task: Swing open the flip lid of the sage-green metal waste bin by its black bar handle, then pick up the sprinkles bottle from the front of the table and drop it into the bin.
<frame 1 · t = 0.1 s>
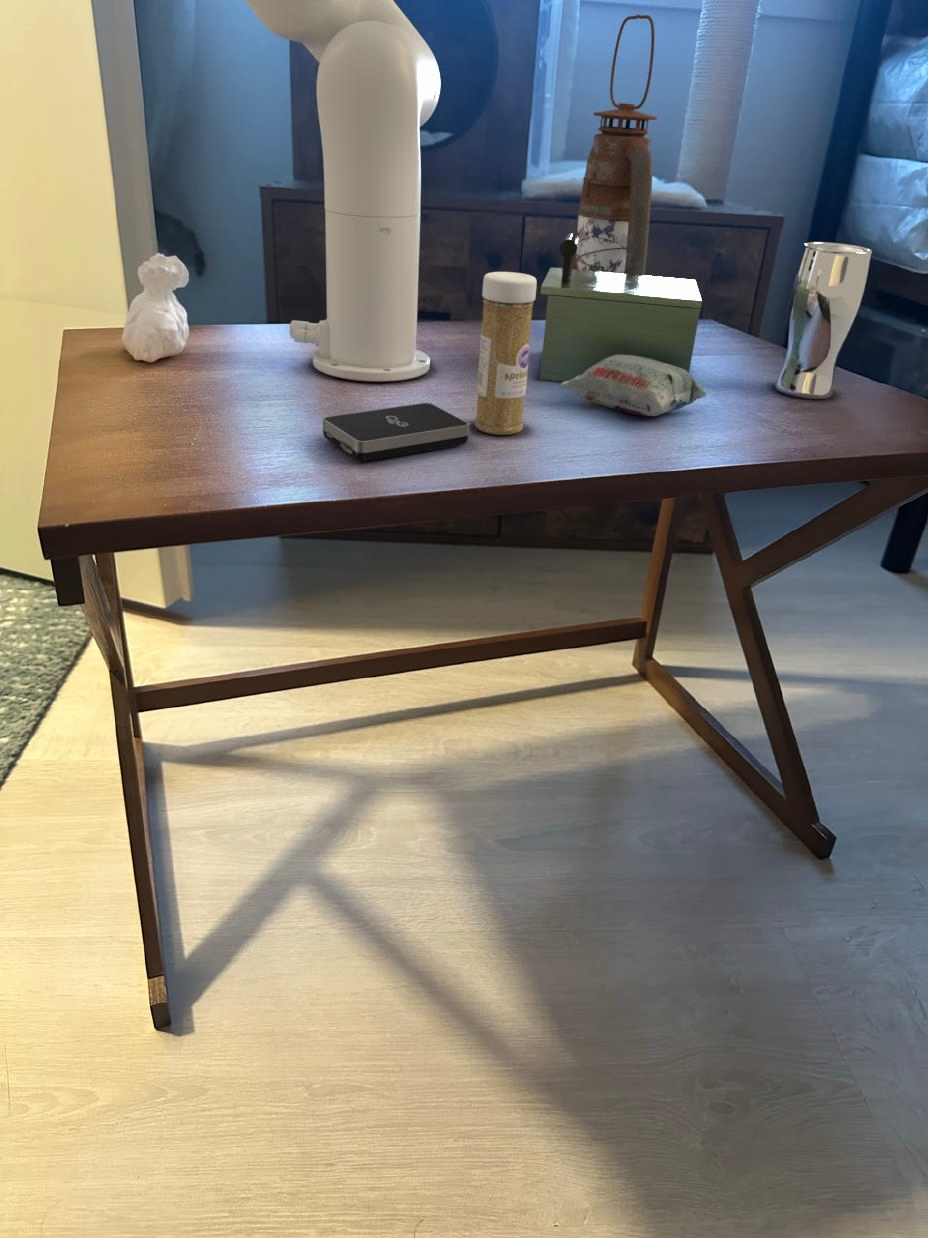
lantern: (596, 336, 120), on the table
external hard drive: (396, 445, 80), on the table
beer glass: (802, 393, 102), on the table
white tied sack: (160, 356, 100), on the table
waste bin: (612, 372, 105), on the table
bin lid: (623, 266, 99), point 11 cm above the table, hinge at 0.0°
packaged food: (629, 412, 92), on the table
sprinkles bottle: (498, 430, 85), on the table
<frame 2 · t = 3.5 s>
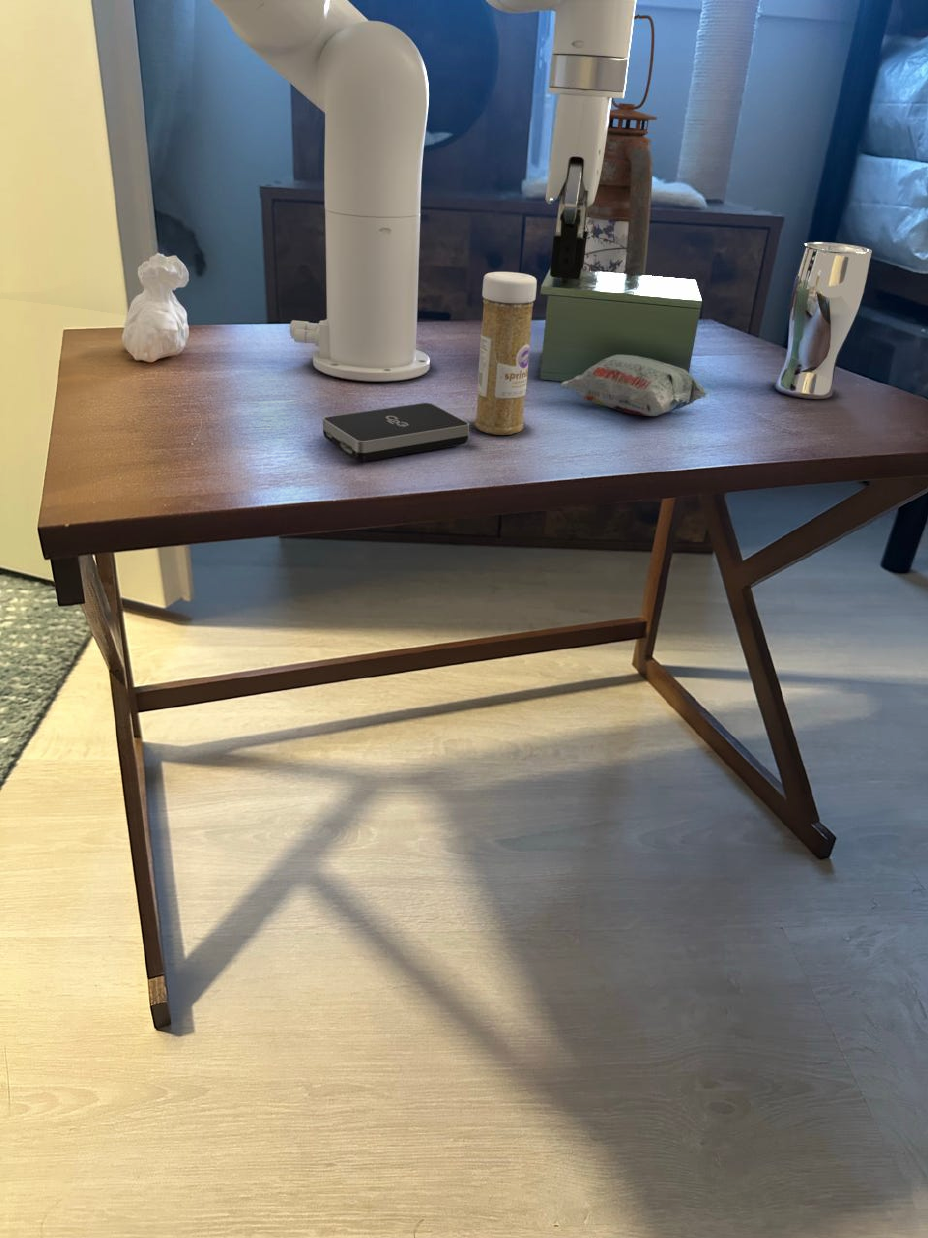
hand: (566, 271, 100), 10 cm above the table, tool pointing down, fingers closed on bin lid, 5 cm apart
bin lid: (623, 266, 99), point 11 cm above the table, hinge at 0.0°, touching gripper
everything else where it was.
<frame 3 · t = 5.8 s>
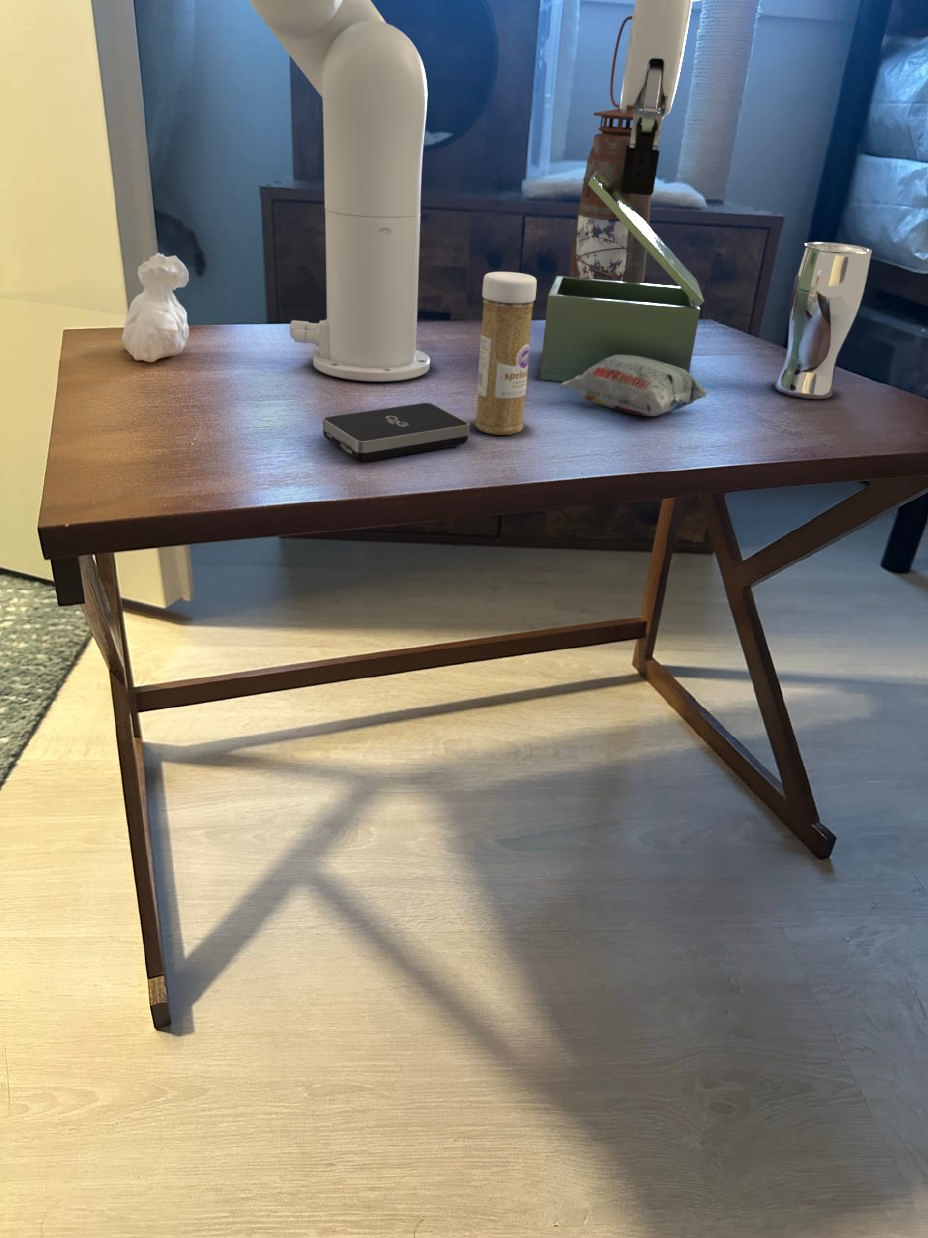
hand: (636, 189, 95), 19 cm above the table, tool pointing down, fingers closed on bin lid, 5 cm apart
bin lid: (661, 220, 96), point 16 cm above the table, hinge at 39.9°, touching gripper
everything else where it was.
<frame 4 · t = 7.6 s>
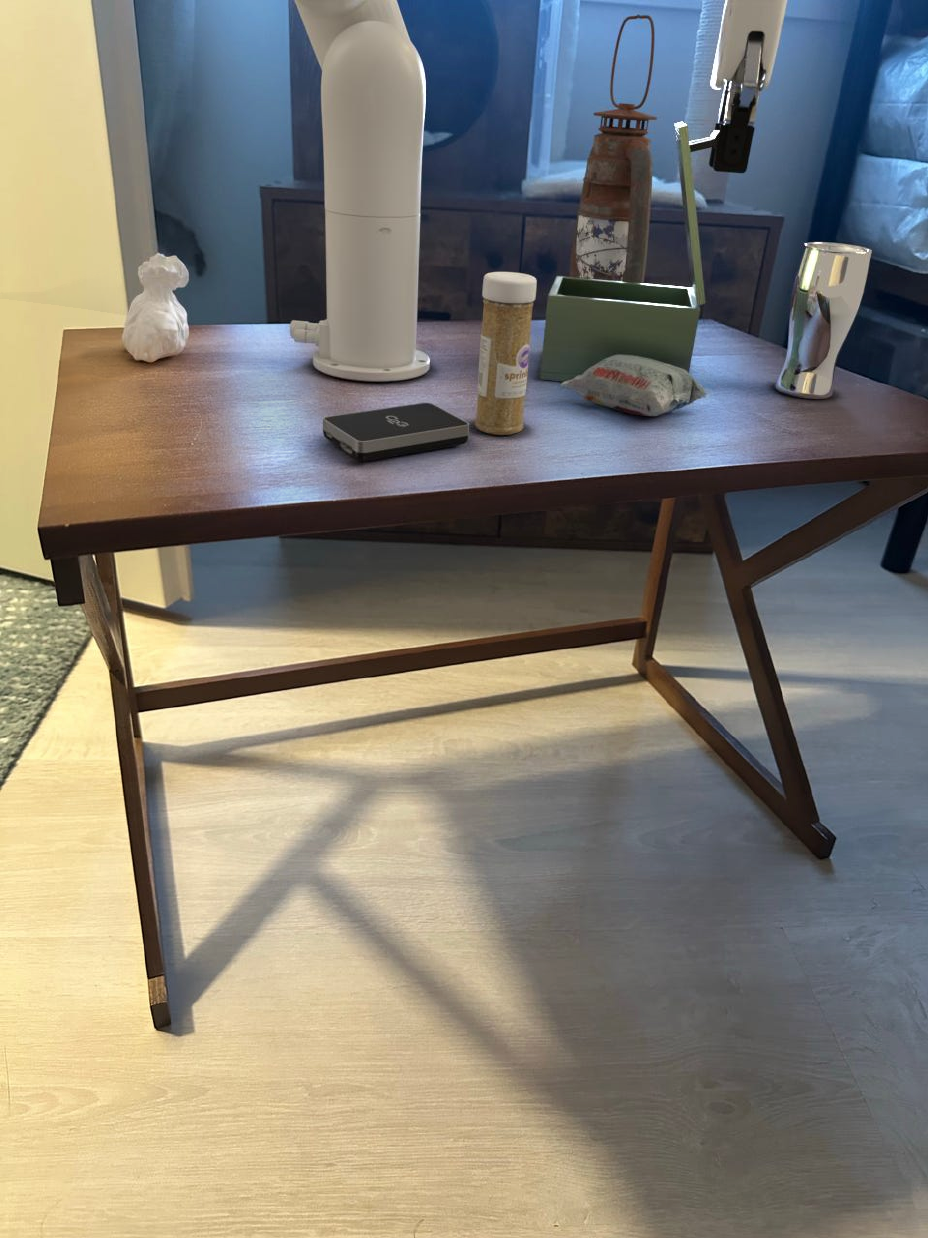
hand: (726, 167, 93), 21 cm above the table, tool pointing down, fingers closed on bin lid, 5 cm apart
bin lid: (710, 207, 95), point 18 cm above the table, hinge at 73.9°, touching gripper
everything else where it was.
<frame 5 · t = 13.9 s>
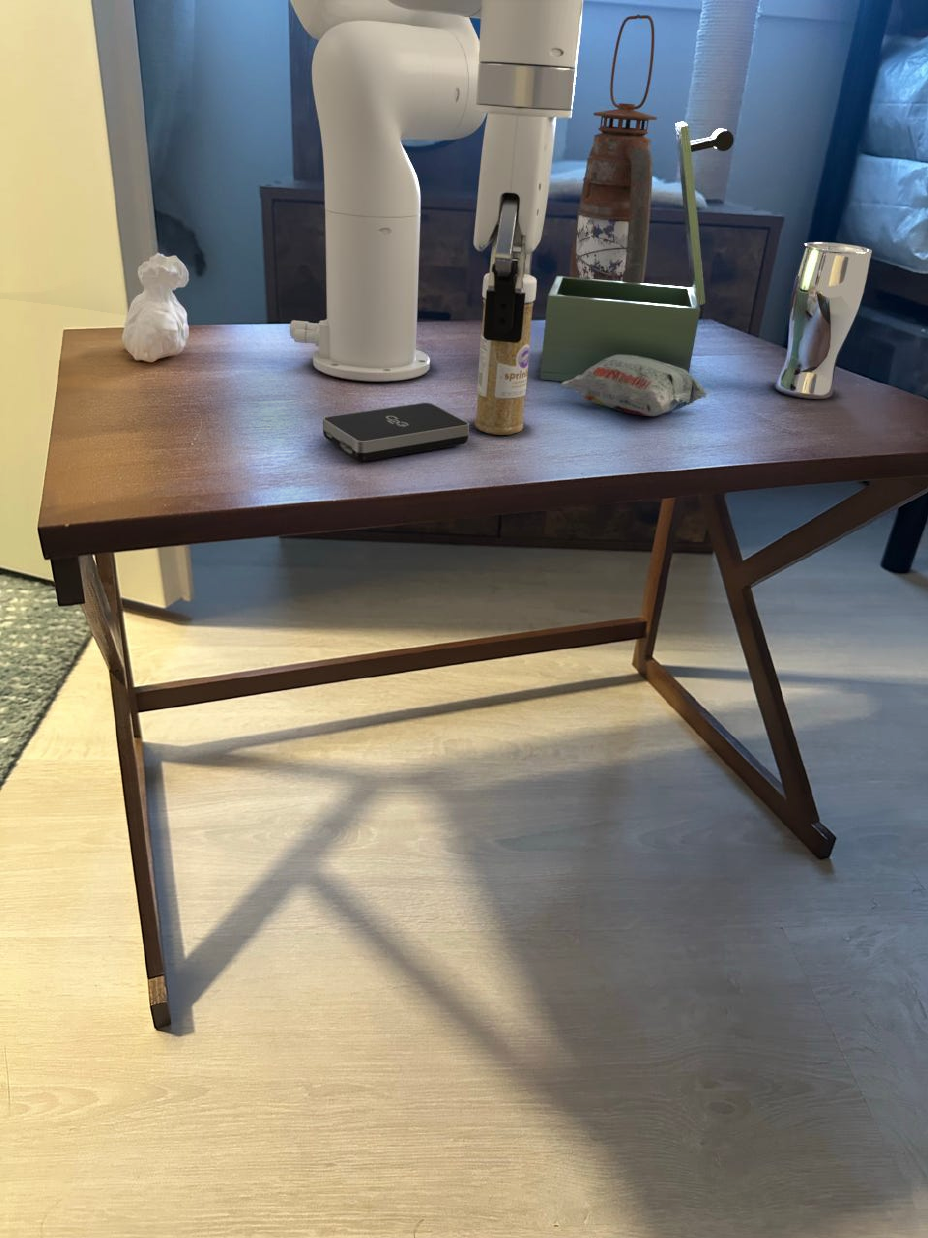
hand: (506, 331, 81), 9 cm above the table, tool pointing down, fingers closed on sprinkles bottle, 4 cm apart
bin lid: (711, 207, 95), point 18 cm above the table, hinge at 74.2°
sprinkles bottle: (498, 430, 85), on the table, touching gripper
everything else where it was.
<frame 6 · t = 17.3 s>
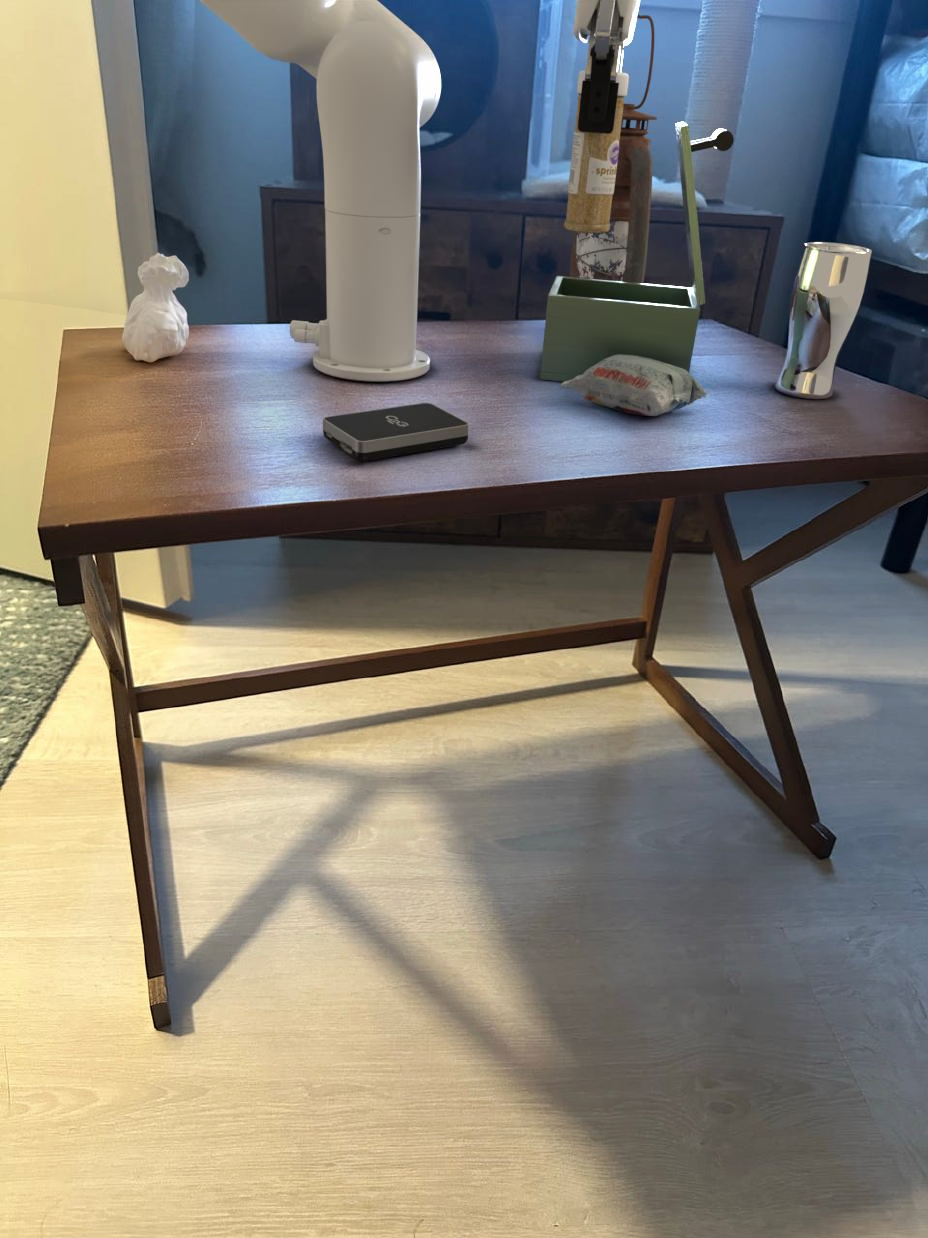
hand: (597, 128, 86), 24 cm above the table, tool pointing down, fingers closed on sprinkles bottle, 4 cm apart
sprinkles bottle: (586, 232, 90), point 15 cm above the table, touching gripper
everything else where it was.
when the fingers open (15 cm above the table, at t = 20.8 s): sprinkles bottle drops 5 cm, resting on waste bin.
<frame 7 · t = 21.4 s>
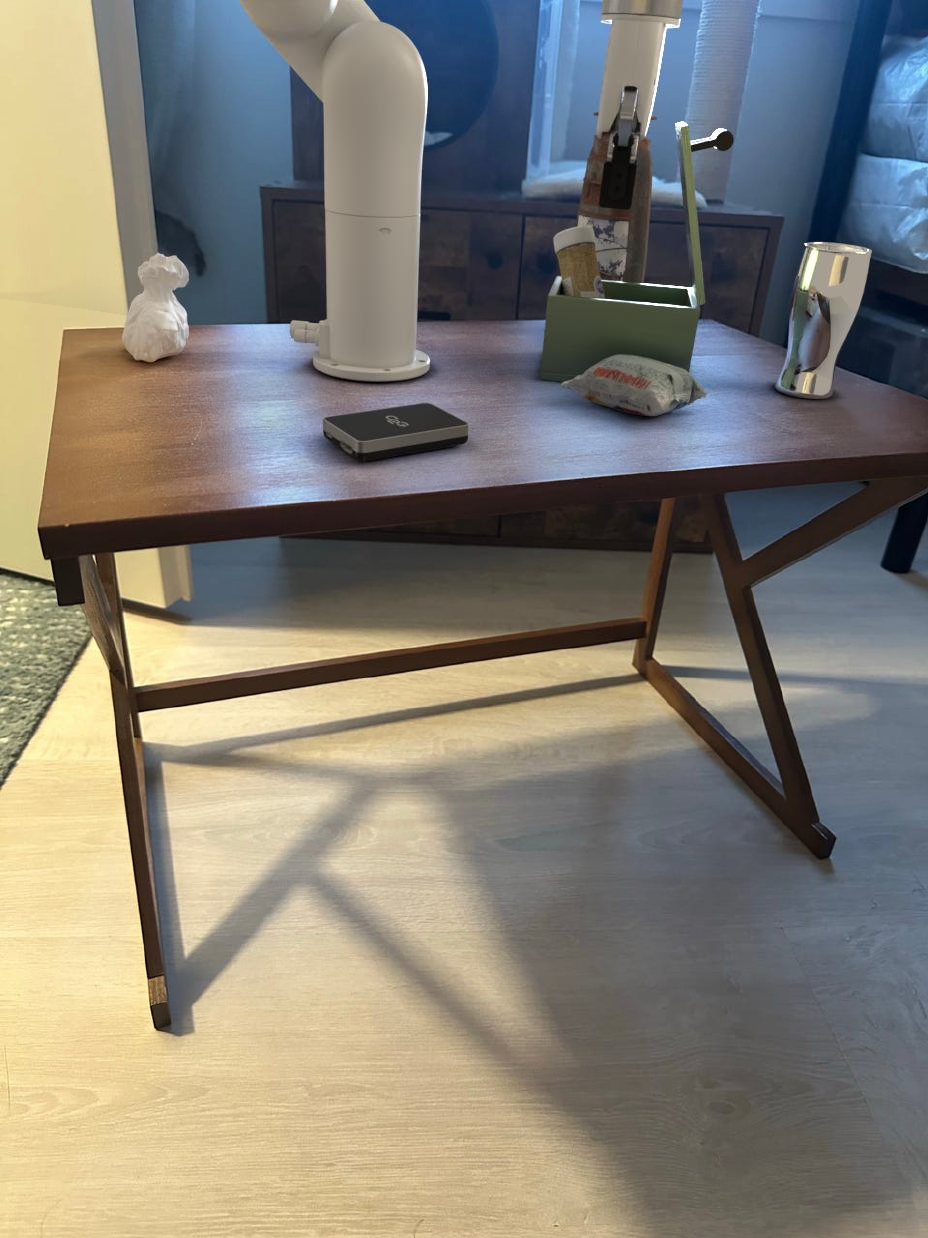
hand: (615, 203, 96), 17 cm above the table, tool pointing down, fingers open, 9 cm apart
sprinkles bottle: (595, 355, 104), point 2 cm above the table, touching waste bin
everything else where it was.
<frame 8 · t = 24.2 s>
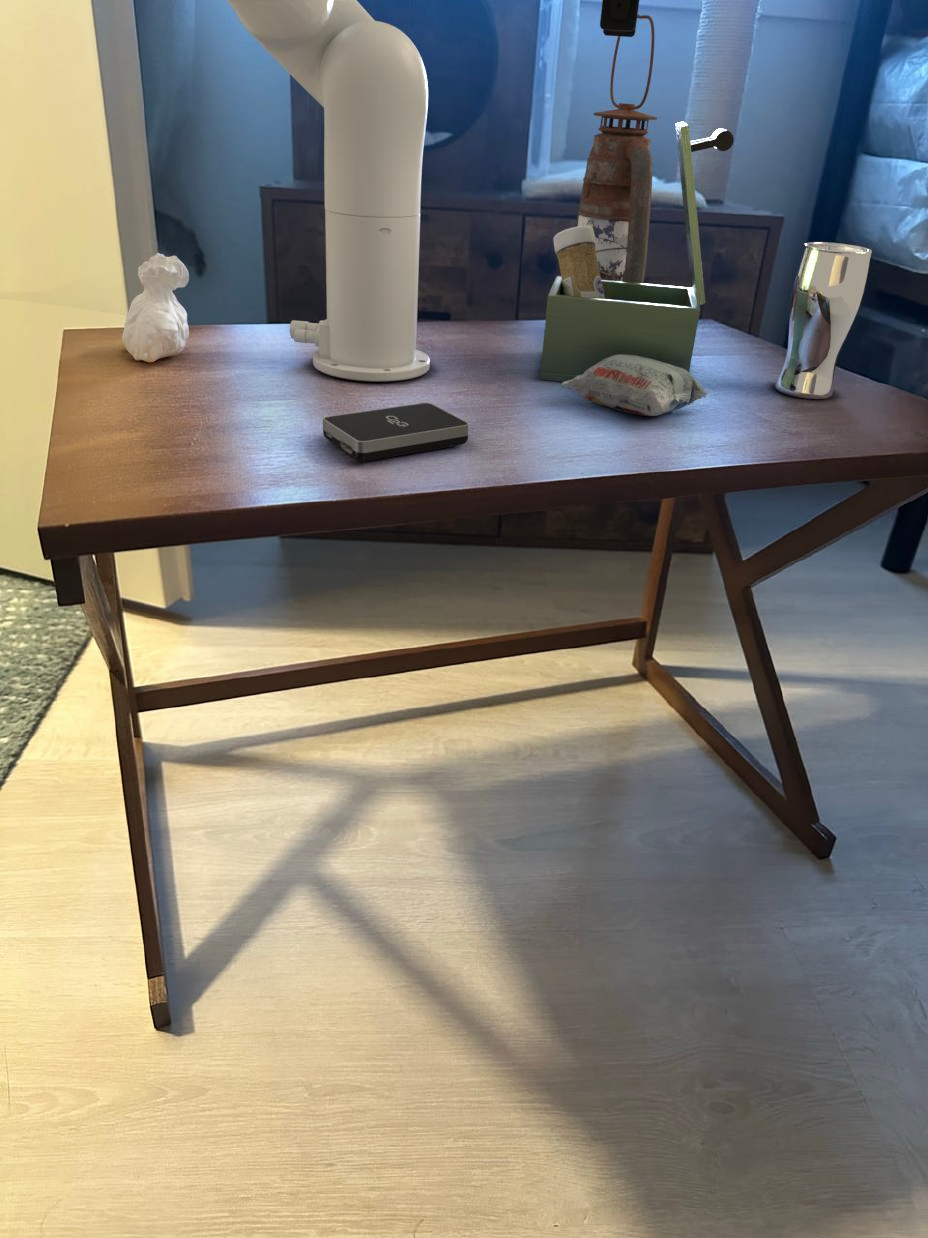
hand: (617, 32, 89), 32 cm above the table, tool pointing down, fingers open, 9 cm apart
nothing on the table moved.
at the end: bin lid at +74° (first picture: +0°); sprinkles bottle inside the target area in the waste bin (2.2 cm from its centre), point 1.6 cm above the waste bin's base; the gripper is holding nothing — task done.
